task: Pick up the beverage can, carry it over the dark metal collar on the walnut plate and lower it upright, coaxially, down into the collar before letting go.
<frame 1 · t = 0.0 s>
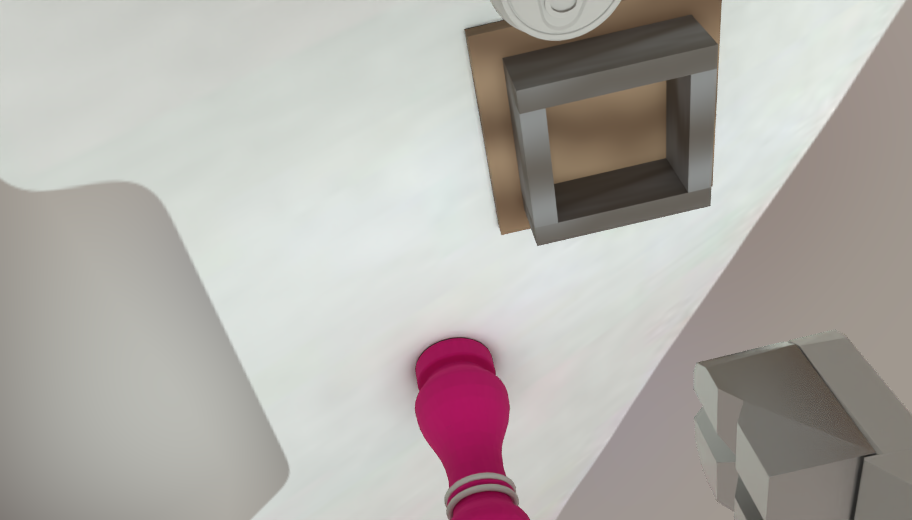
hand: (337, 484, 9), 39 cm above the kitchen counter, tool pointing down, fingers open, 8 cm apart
collar plate: (597, 110, 52), on the kitchen counter
pepper mill: (453, 362, 66), on the kitchen counter
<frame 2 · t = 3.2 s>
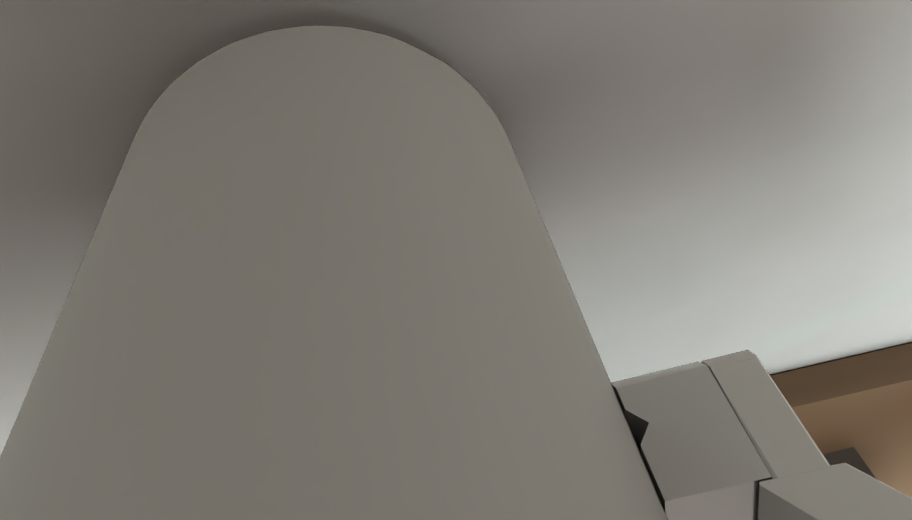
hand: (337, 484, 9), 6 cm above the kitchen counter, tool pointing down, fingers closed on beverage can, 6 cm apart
beverage can: (329, 187, 14), on the kitchen counter, touching gripper
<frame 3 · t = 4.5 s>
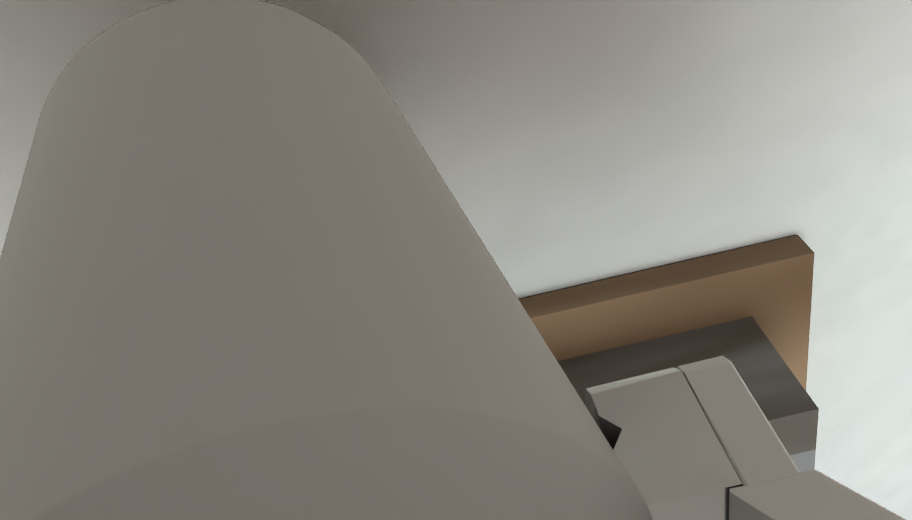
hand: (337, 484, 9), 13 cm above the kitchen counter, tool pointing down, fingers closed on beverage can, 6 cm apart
collar plate: (576, 465, 28), on the kitchen counter
beverage can: (227, 152, 16), point 5 cm above the kitchen counter, touching gripper
when the fingers open (13 cm above the kitchen counter, at t = 8.1 s): beverage can stays where it is, resting on collar plate.
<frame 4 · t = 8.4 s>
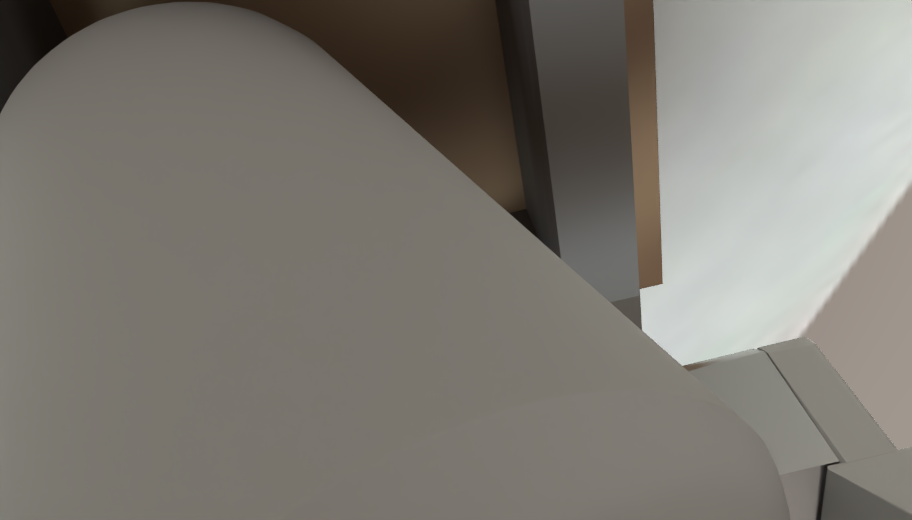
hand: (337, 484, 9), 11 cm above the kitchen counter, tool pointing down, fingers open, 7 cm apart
collar plate: (308, 70, 18), on the kitchen counter
beverage can: (188, 171, 15), point 4 cm above the kitchen counter, touching collar plate, gripper
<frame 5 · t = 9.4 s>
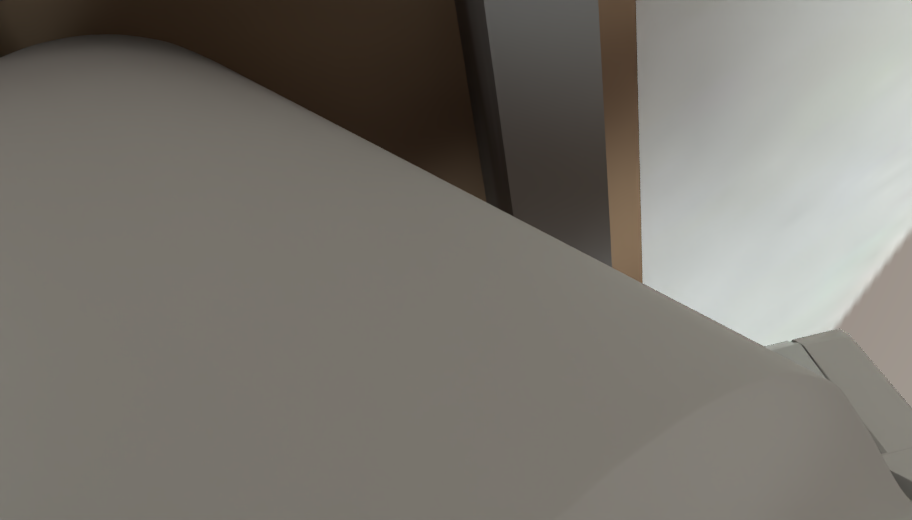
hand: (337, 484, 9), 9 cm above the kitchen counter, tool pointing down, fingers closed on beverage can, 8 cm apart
collar plate: (253, 110, 16), on the kitchen counter
beverage can: (94, 224, 13), point 4 cm above the kitchen counter, touching collar plate, gripper
when the fingers open (9 cm above the kitchen counter, at t = 9.4 s): beverage can drops 3 cm, resting on collar plate.
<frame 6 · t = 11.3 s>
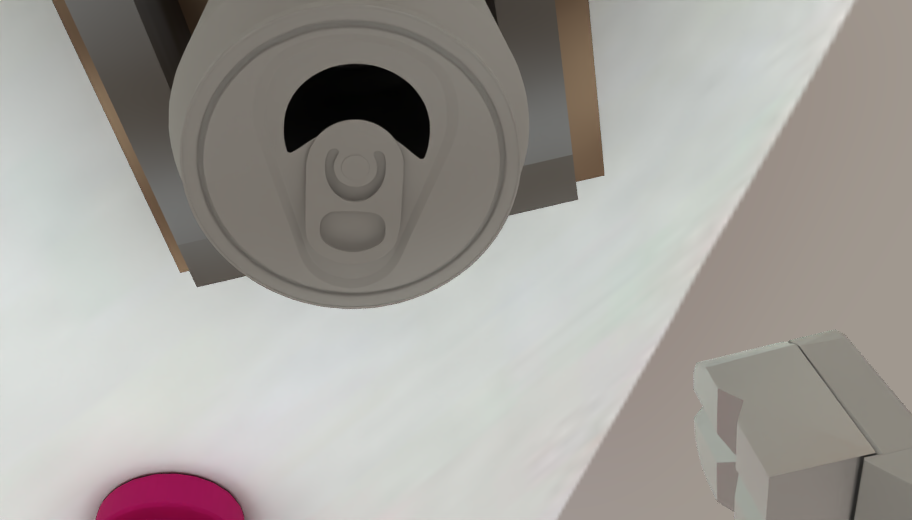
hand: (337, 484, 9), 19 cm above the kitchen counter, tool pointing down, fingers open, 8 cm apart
collar plate: (334, 1, 25), on the kitchen counter
pepper mill: (173, 516, 36), on the kitchen counter
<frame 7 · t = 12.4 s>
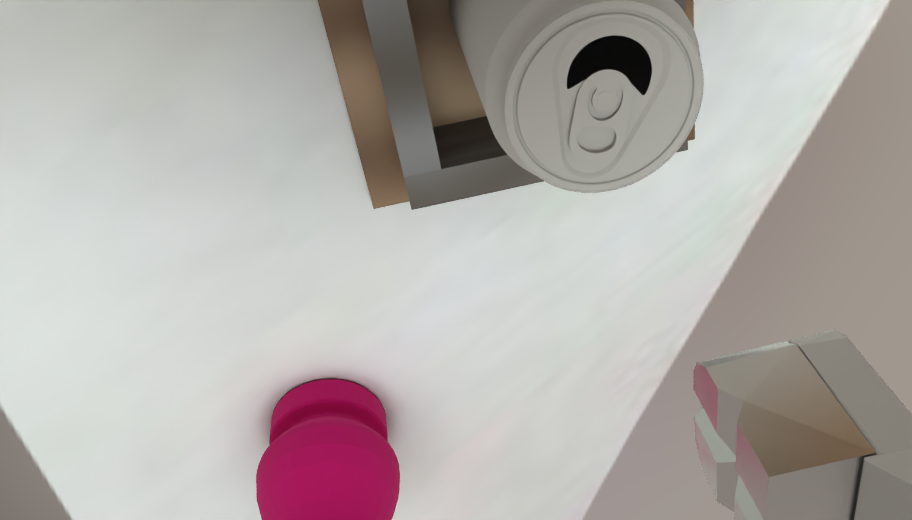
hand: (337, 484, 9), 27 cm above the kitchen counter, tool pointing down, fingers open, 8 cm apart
collar plate: (508, 5, 34), on the kitchen counter
pepper mill: (329, 417, 45), on the kitchen counter
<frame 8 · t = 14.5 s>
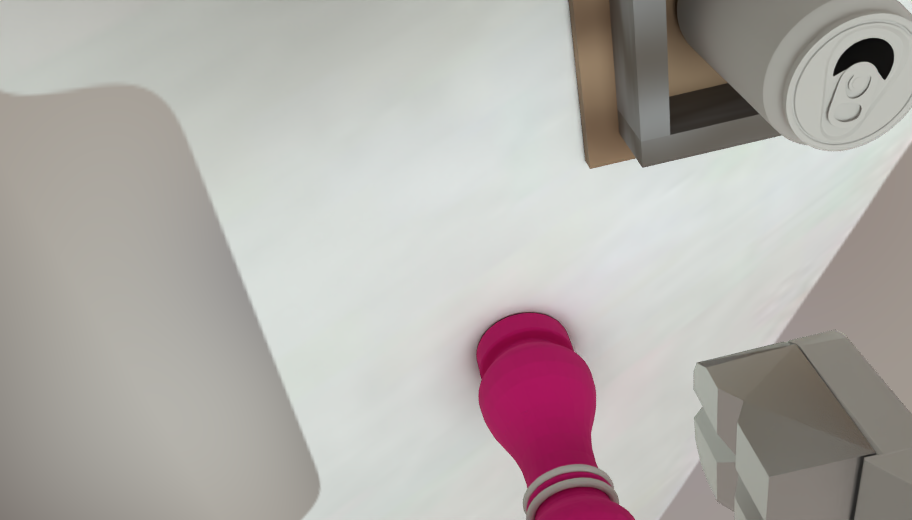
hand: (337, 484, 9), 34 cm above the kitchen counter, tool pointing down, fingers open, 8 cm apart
collar plate: (712, 2, 42), on the kitchen counter
pepper mill: (521, 346, 54), on the kitchen counter
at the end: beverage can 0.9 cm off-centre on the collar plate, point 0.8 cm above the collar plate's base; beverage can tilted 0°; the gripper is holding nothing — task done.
